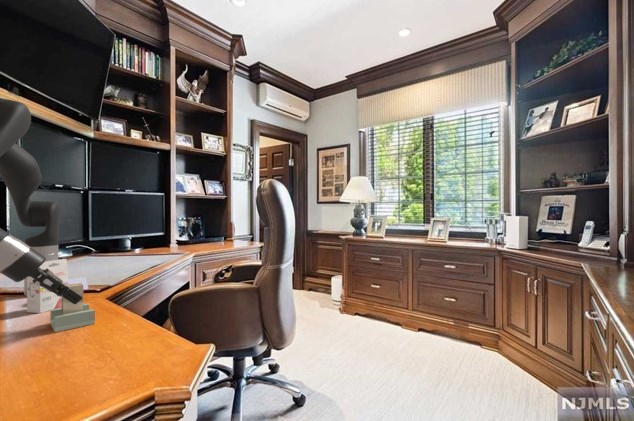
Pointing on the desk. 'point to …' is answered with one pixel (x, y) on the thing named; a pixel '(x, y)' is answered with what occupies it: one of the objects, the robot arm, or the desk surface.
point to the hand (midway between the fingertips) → (77, 299)
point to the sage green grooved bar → (71, 318)
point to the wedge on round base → (79, 281)
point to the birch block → (68, 306)
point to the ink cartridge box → (39, 296)
